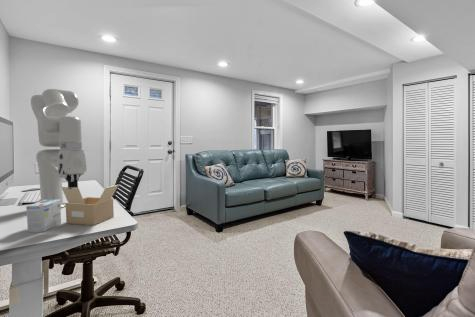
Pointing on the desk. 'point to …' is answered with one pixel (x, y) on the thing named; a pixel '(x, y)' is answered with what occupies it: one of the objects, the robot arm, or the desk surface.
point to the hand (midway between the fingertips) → (73, 190)
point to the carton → (89, 211)
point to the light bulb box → (43, 215)
